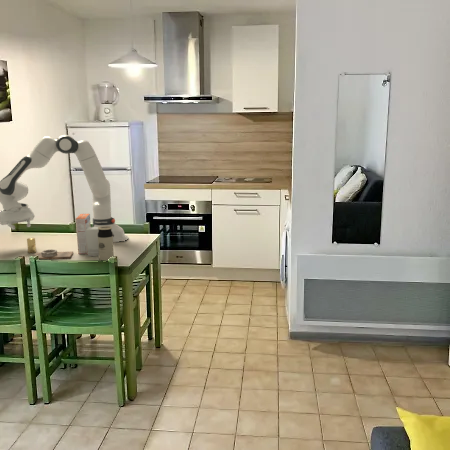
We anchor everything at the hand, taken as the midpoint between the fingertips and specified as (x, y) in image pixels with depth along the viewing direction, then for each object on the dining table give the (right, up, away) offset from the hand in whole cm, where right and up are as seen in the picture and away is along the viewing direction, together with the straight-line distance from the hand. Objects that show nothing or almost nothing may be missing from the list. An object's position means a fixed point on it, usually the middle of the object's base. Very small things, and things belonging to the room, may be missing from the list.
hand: (21, 227), depth 302 cm
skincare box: (+46, -15, -9) cm, 49 cm away
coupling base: (+23, -16, -14) cm, 31 cm away
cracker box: (+38, -14, -1) cm, 40 cm away
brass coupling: (+8, -14, -4) cm, 17 cm away
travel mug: (+54, -18, -19) cm, 60 cm away
